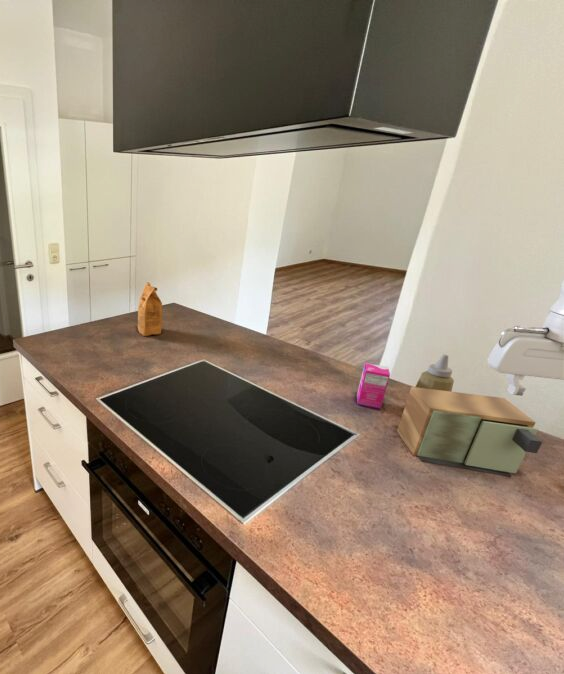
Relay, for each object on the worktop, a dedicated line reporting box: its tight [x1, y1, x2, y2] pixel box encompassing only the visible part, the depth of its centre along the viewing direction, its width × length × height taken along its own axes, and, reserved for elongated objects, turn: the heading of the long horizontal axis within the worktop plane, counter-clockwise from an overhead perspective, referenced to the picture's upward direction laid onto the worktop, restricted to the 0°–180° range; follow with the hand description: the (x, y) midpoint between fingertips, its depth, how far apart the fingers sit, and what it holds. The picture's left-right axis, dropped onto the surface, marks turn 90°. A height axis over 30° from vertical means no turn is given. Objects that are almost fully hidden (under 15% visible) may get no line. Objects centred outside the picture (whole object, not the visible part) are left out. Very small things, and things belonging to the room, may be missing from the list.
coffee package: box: [137, 281, 163, 337], centre depth 159 cm, size 10×12×22 cm
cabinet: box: [396, 386, 537, 478], centre depth 83 cm, size 18×12×13 cm, turn 72°
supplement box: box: [356, 362, 391, 411], centre depth 103 cm, size 6×6×12 cm
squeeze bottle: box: [414, 353, 455, 392], centre depth 96 cm, size 8×8×18 cm
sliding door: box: [464, 421, 543, 474], centre depth 75 cm, size 9×5×11 cm, turn 72°
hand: (545, 397), depth 69 cm, fingers open, 8 cm apart
